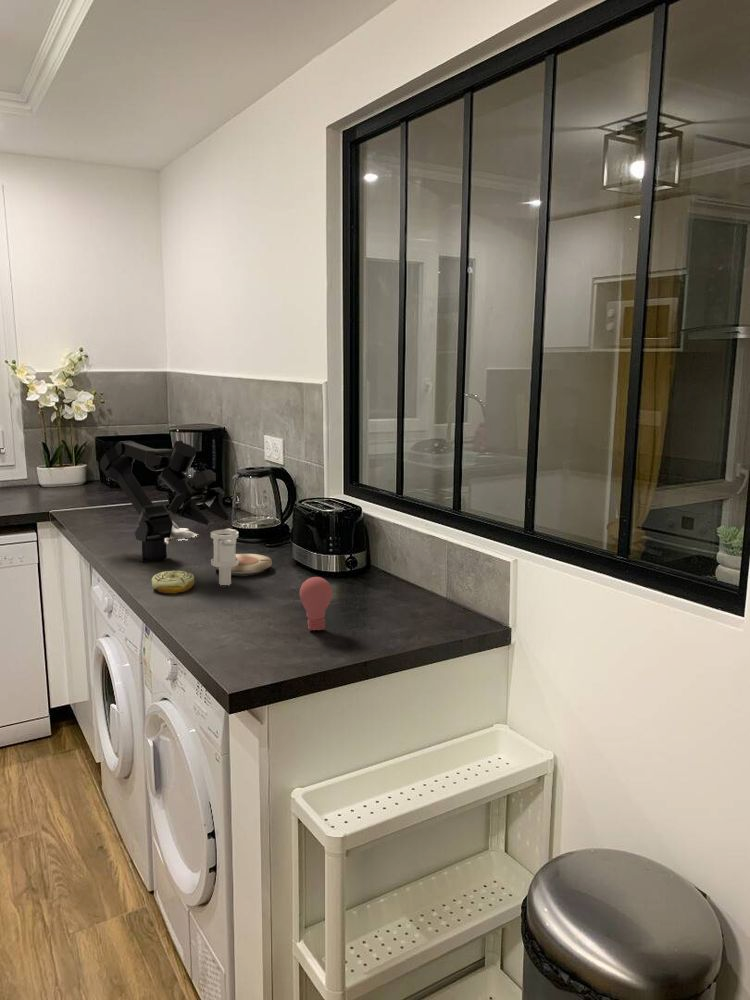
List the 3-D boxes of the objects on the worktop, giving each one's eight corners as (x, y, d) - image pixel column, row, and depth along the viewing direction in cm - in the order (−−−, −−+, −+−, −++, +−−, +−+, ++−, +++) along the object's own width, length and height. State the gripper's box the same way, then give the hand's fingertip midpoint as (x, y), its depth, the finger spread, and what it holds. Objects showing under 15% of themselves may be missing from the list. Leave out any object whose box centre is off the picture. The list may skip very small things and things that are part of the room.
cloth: (144, 547, 233) (143, 528, 232) (133, 535, 249) (132, 517, 248) (214, 541, 243) (214, 522, 242) (199, 529, 260) (199, 512, 258)
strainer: (225, 589, 191) (225, 532, 188) (205, 584, 195) (204, 528, 192) (244, 583, 197) (244, 527, 194) (224, 578, 200) (223, 524, 198)
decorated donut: (147, 595, 186) (147, 580, 185) (157, 582, 196) (156, 568, 196) (190, 595, 186) (189, 580, 186) (197, 582, 197) (197, 568, 196)
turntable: (213, 573, 200) (213, 569, 199) (213, 557, 215) (213, 554, 215) (273, 571, 203) (273, 567, 203) (269, 556, 218) (269, 552, 218)
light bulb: (299, 624, 167) (299, 572, 165) (331, 624, 168) (332, 573, 166) (298, 636, 160) (299, 582, 158) (332, 636, 161) (333, 582, 159)
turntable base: (221, 576, 202) (220, 571, 202) (220, 564, 214) (220, 559, 213) (265, 575, 205) (265, 569, 204) (263, 563, 216) (263, 558, 216)
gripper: (173, 463, 194) (213, 502, 190) (215, 459, 211) (252, 495, 207) (152, 495, 198) (191, 534, 194) (195, 488, 215) (232, 525, 211)
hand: (218, 521), depth 202 cm, fingers open, 9 cm apart
